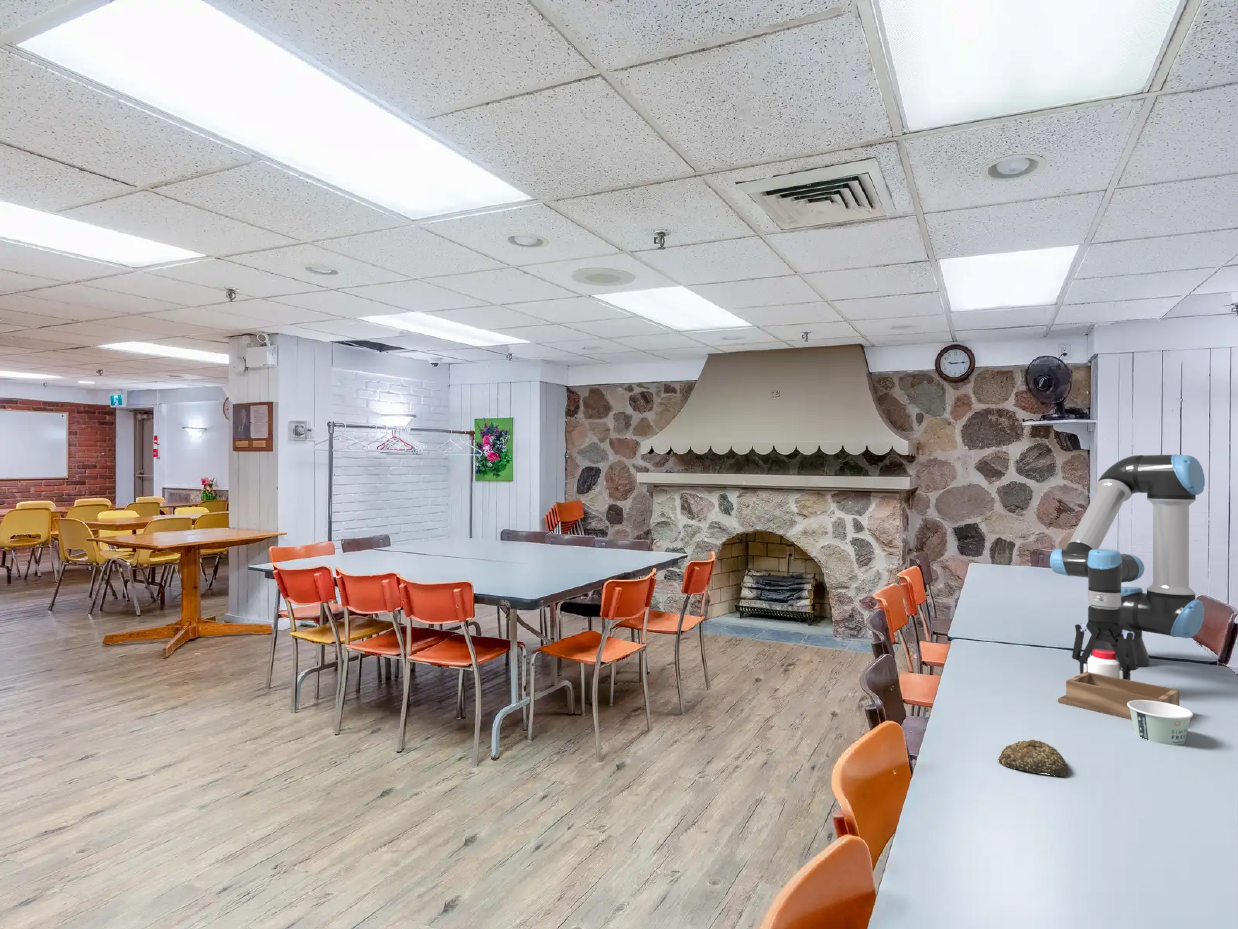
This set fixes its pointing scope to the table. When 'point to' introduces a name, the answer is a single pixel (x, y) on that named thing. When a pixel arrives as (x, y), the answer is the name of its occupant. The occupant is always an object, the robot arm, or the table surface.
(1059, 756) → the bread roll
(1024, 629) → the table surface
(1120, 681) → the tray
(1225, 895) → the table surface
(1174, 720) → the food container
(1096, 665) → the pill bottle
